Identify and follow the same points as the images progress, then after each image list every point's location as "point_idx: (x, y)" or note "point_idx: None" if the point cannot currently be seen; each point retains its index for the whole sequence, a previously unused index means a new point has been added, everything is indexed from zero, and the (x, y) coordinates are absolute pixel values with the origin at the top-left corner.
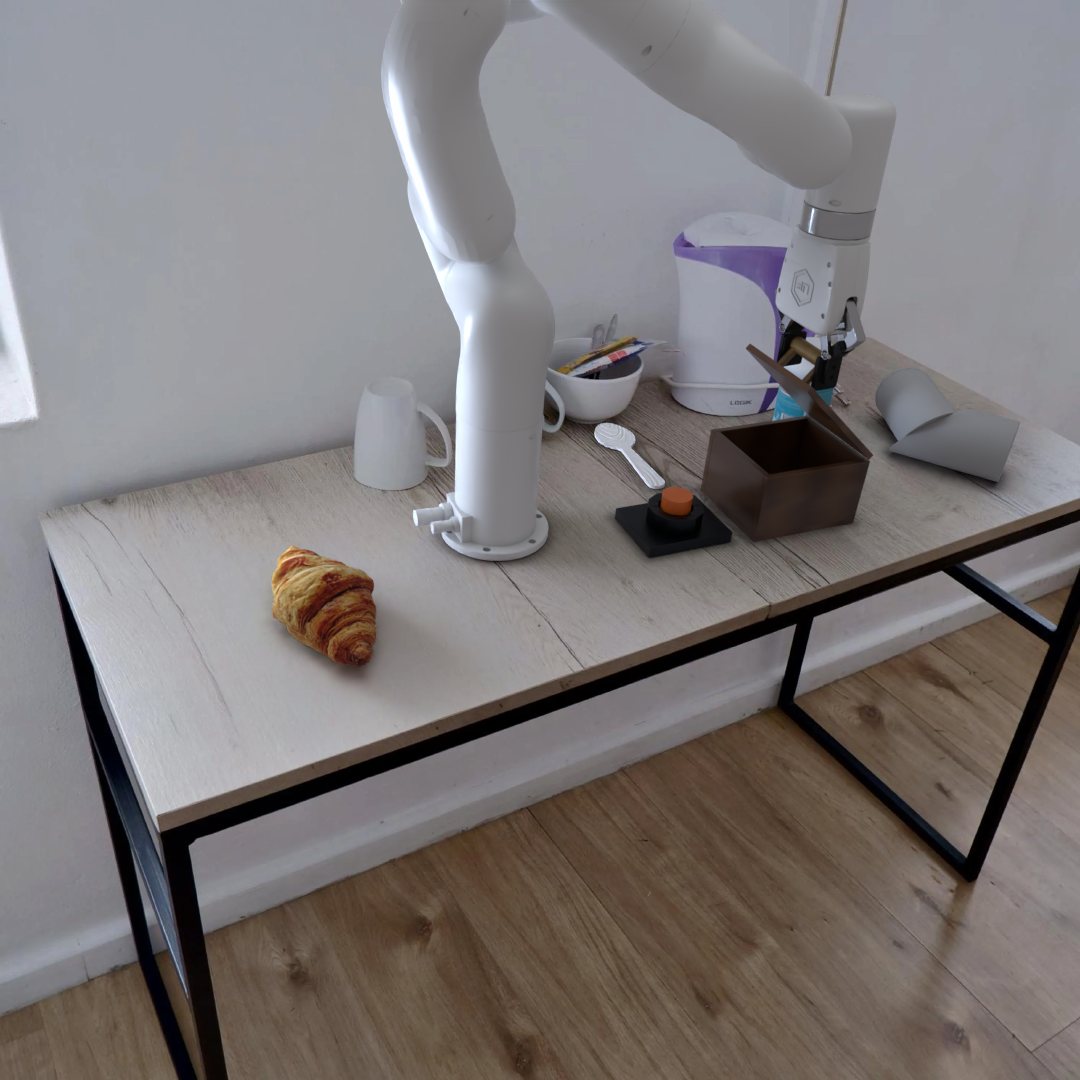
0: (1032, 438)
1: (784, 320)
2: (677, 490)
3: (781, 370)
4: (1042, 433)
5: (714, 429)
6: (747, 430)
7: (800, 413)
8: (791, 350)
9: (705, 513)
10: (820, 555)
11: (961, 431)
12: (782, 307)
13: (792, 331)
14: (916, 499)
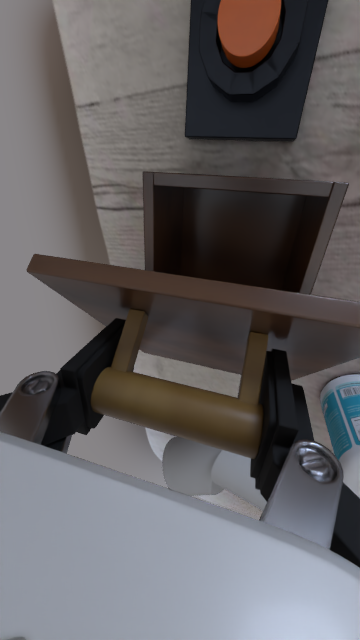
0: (220, 496)
1: (318, 499)
2: (261, 23)
3: (164, 281)
4: (223, 504)
5: (344, 191)
6: (306, 263)
7: (345, 403)
8: (247, 396)
9: (241, 122)
10: (137, 234)
11: (196, 463)
12: (296, 594)
13: (269, 460)
14: (186, 379)
